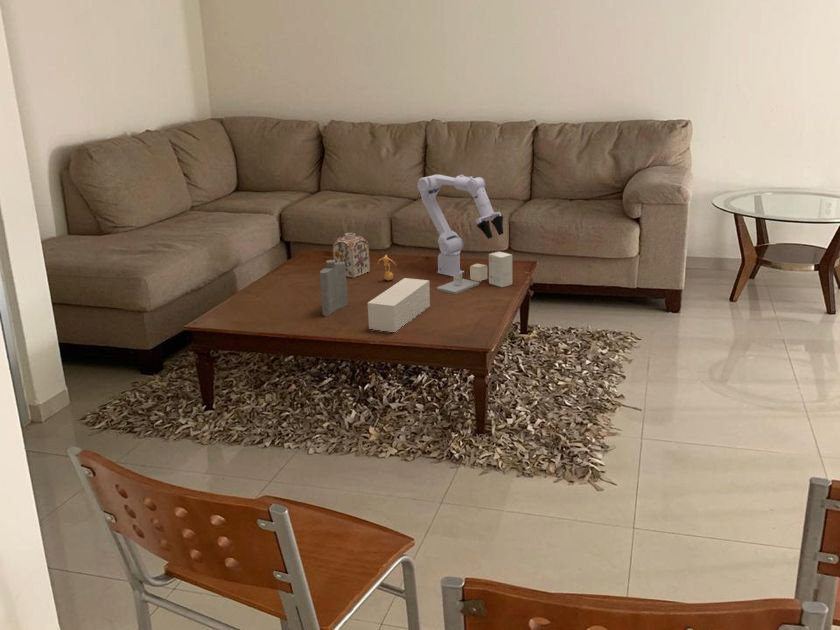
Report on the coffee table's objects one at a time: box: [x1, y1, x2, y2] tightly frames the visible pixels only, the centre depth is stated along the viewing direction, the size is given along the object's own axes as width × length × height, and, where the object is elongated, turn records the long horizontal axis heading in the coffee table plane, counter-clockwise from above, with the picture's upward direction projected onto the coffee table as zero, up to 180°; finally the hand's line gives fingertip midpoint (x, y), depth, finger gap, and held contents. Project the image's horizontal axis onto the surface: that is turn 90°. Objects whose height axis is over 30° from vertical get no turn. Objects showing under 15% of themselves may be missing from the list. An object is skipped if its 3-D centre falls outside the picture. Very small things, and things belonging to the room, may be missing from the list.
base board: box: [436, 278, 480, 295], centre depth 370 cm, size 10×16×1 cm, turn 138°
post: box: [453, 272, 463, 286], centre depth 369 cm, size 3×3×5 cm
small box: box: [488, 250, 513, 288], centre depth 370 cm, size 8×6×13 cm
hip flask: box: [319, 259, 349, 316], centre depth 344 cm, size 16×4×20 cm, turn 154°
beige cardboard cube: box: [469, 263, 488, 282], centre depth 379 cm, size 5×5×6 cm
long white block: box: [367, 277, 431, 333], centre depth 335 cm, size 32×11×11 cm, turn 156°
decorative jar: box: [332, 232, 371, 279], centre depth 391 cm, size 12×12×18 cm
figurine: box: [377, 254, 397, 281], centre depth 379 cm, size 8×6×12 cm
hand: (495, 236), depth 367 cm, fingers open, 7 cm apart
